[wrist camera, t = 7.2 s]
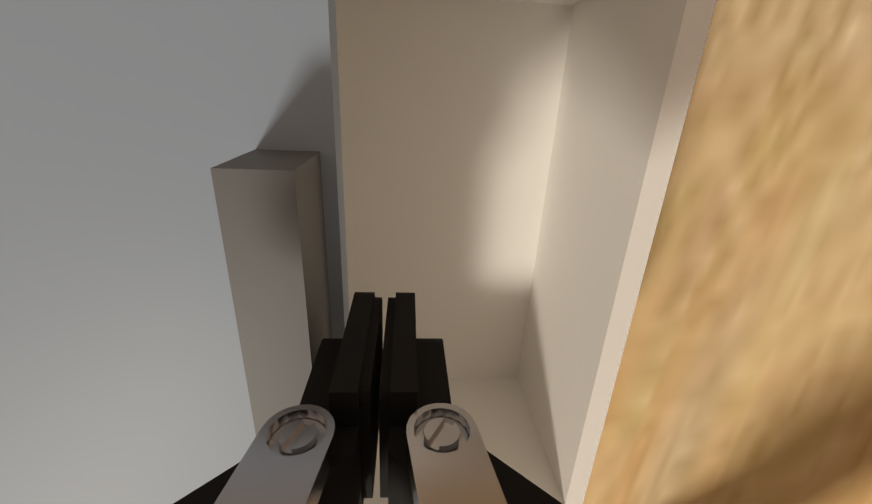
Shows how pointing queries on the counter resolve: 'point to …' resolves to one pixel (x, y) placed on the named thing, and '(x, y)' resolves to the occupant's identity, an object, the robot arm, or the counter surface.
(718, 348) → the counter surface
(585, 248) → the mailer box
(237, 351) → the lid
